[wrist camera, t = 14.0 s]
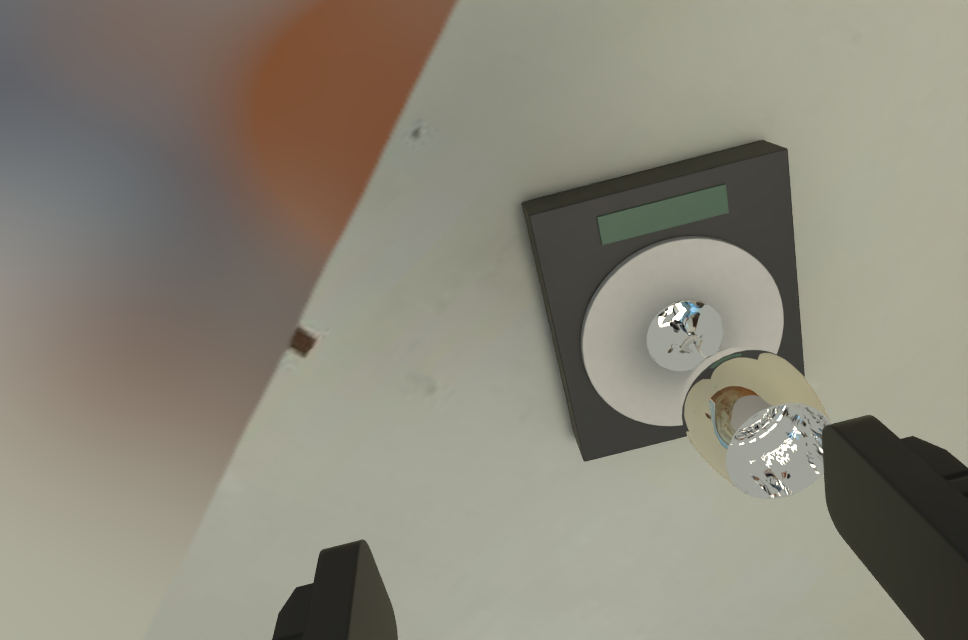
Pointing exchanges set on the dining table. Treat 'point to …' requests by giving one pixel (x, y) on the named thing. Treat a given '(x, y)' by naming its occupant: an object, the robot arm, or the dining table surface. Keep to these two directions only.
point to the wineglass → (740, 403)
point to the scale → (662, 281)
